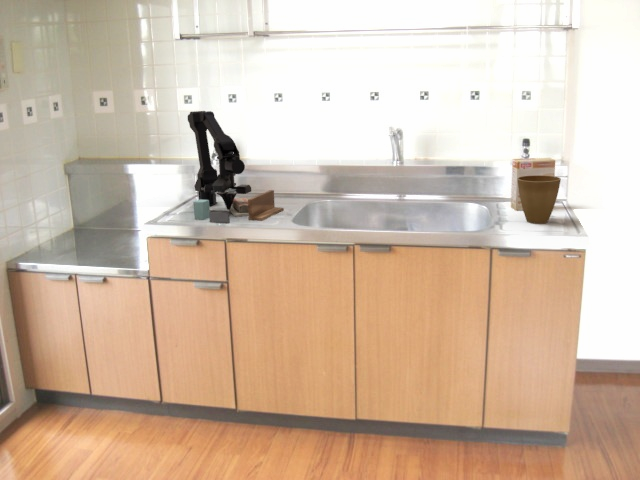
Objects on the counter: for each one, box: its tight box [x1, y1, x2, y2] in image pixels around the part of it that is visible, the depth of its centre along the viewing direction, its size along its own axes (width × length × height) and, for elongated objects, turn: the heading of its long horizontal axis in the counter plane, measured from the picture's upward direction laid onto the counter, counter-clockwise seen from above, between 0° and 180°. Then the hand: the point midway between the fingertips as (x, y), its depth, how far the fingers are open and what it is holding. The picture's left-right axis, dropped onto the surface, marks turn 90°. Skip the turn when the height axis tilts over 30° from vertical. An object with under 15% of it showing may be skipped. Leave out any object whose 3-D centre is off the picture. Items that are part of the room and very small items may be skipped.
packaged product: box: [229, 197, 249, 218], centre depth 288 cm, size 18×5×10 cm
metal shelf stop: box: [208, 210, 231, 224], centre depth 269 cm, size 8×1×4 cm, turn 69°
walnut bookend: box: [247, 189, 284, 222], centre depth 280 cm, size 6×20×8 cm, turn 158°
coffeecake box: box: [510, 157, 556, 211], centre depth 278 cm, size 15×7×20 cm, turn 92°
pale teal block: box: [193, 199, 211, 221], centre depth 276 cm, size 4×5×7 cm
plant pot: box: [517, 175, 562, 224], centre depth 257 cm, size 15×15×16 cm
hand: (228, 209), depth 287 cm, fingers closed
